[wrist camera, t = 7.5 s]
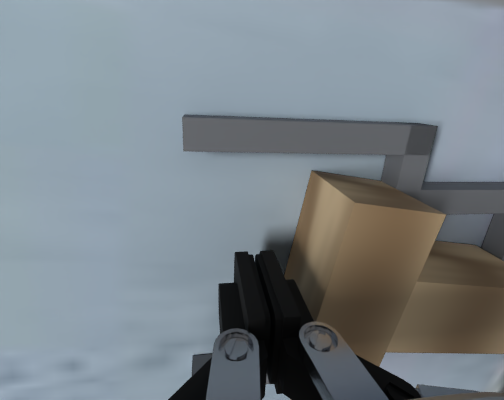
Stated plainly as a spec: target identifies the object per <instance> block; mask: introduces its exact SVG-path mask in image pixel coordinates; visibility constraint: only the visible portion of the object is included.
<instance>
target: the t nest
mask: <svg viewBox="0 0 504 400" xmlns="http://www.w3.org/2000/svg"><path fill="white" fill-rule="evenodd" d="M182 122H183V150H184V151H195V152H255V153H315V154H375V155H386V158H385V163H384V168H383V173H382V177H381V181H382V182H384V183H386V184H387V185H389V186H391V187H393V188H395V189H397V190H399V191H401V192H403V193H405V194H407V195H409V196H411V197H413V198H415V199H417V200H419V201H421V202H422V203H424V204H426V205H428V206H430V207H432V208H434V209H436V210H438V211H440V212H442V213H444V214H446V215H448V214H494V215H493V218H492V221H491V223H490V226H489V229H488V231H487V234H486V237H485V239H484V242H483V245H482V248H481V249H483V250H485V251H487V252H488V253H490V254H492V255H494V256H495V257H497V258H499V259H501V260H502V261H504V182H423V180H424V176H425V172H426V169H427V165H428V161H429V157H430V154H431V150H432V146H433V142H434V139H435V135H436V131H437V127H438V126H433V125H426V124H420V123H399V122H371V121H344V120H317V119H289V118H262V117H234V116H207V115H184V116H183V117H182ZM211 357H212V354H205V355H194V356H193V361H192V376H193V375H194V374H195V373H196V372H197V371H198V370H199V369H200V368H201V367H202V366H203V365H204V364H205V363H206V362H207V361H208V360H209V359H210V358H211ZM266 384H270V383H269V380H268V376H267V377H266Z"/></svg>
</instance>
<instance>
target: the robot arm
mask: <svg viewBox="0 0 504 400" xmlns="http://www.w3.org/2000/svg"><path fill="white" fill-rule="evenodd" d="M219 323H220V335H219V336H218V337H217V338H216V340H215V343H214V347H213V354H212V357H211V358H210V359H209V360H208V361H207V362H206V363H205V364H204V365H203V366H202V367H201V368H200V369H199V370H198V371H197V372H196V373H195V374H194V375H193V376H192V377H191V378H190V379H189V380H188V381H187V382H186V383H185V384H184V385H183V386H182V387H181V388H180V389H179V390H178V391H177V392H176V393H175V394H173V395H172V396H171V397H170V398H169V399H168V400H262V399H263V397H264V396H265V385H266V377H267V376H268V380H269V383H270V384H274V385H275V389H276V393H277V394H281V393H283V394H284V395H286V396H287V397H289V398H290V399H291V400H504V393H501V392H478V391H473V390H464V389H455V388H446V387H437V386H428V385H419V384H417V387H416V388H414V387H413V386H412V385H410V384H409V383H407V382H406V381H404V380H403V379H401V378H399V377H397V376H395V375H393V374H391V373H390V372H388V371H386V370H384V369H382V368H380V367H378V366H376V365H374V364H373V363H371V362H369V361H367V360H365V359H363V358H361V357H359V356H358V355H356V354H354V352H353V351H352V349H351V348H350V347H349V345H348V344H347V343H346V341H345V340H344V339H343V337H342V336H341V335H340V333H339V332H338V331H337V330H336V329H335V328H333V327H332V326H330V325H328V324H326V323H323V322H317V321H316V322H314V320H313V318H312V316H311V314H310V312H309V310H308V307H307V305H306V303H305V301H304V299H303V297H302V295H301V293H300V290H299V288H298V286H297V284H296V282H295V280H293V279H287V280H286V279H285V277H284V275H283V272H282V270H281V268H280V265H279V263H278V260H277V258H276V256H275V253H274V251H273V250H270V251H260V254H256V256H255V261H254V258H253V255H249V254H248V252H235V261H234V283H222V284H219Z"/></svg>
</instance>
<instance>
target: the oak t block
mask: <svg viewBox="0 0 504 400" xmlns="http://www.w3.org/2000/svg"><path fill="white" fill-rule="evenodd" d="M445 217H446V214H444V213H442V212H440V211H438V210H436V209H434V208H432V207H430V206H428V205H426V204H424V203H422V202H421V201H419V200H417V199H415V198H413V197H411V196H409V195H407V194H405V193H403V192H401V191H399V190H397V189H395V188H393V187H391V186H389V185H387V184H386V183H384V182H382V181H378V180H371V179H365V178H358V177H352V176H345V175H339V174H332V173H325V172H319V171H311V175H310V179H309V183H308V186H307V190H306V194H305V198H304V202H303V206H302V209H301V213H300V217H299V221H298V225H297V229H296V232H295V236H294V240H293V244H292V248H291V251H290V255H289V259H288V263H287V267H286V271H285V274H284V277H285V279H286V280H287V279H293V280H295V282H296V284H297V286H298V288H299V290H300V293H301V295H302V297H303V299H304V301H305V303H306V305H307V307H308V310H309V312H310V314H311V316H312V318H313V320H314V322H316V321H317V322H323V323H326V324H328V325H330V326H332V327H333V328H335V329H336V330H337V331H338V332H339V333H340V335H341V336H342V337H343V339H344V340H345V341H346V343H347V344H348V345H349V347H350V348H351V349H352V351H353V352H354V354H356V355H358V356H359V357H361V358H363V359H365V360H367V361H369V362H371V363H373V364H374V365H376V366H378V367H379V366H380V364H381V361H382V359H383V357H384V355H385V352H398V353H475V354H504V261H502V260H501V259H499V258H497V257H495V256H494V255H492V254H490V253H488V252H487V251H485V250H483V249H481V248H480V247H478V246H476V245H470V244H461V243H452V242H443V241H435V239H436V237H437V235H438V232H439V230H440V228H441V226H442V223H443V221H444V219H445ZM290 400H291V399H290Z"/></svg>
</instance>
